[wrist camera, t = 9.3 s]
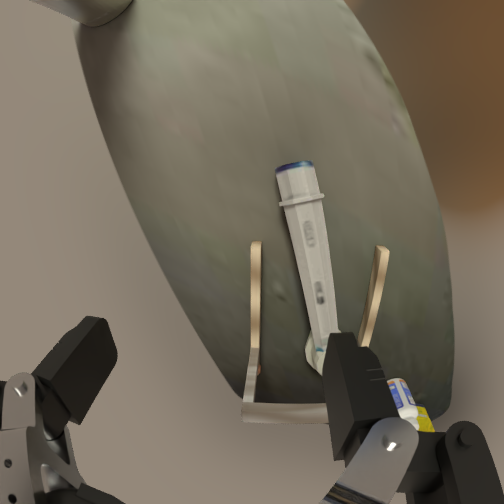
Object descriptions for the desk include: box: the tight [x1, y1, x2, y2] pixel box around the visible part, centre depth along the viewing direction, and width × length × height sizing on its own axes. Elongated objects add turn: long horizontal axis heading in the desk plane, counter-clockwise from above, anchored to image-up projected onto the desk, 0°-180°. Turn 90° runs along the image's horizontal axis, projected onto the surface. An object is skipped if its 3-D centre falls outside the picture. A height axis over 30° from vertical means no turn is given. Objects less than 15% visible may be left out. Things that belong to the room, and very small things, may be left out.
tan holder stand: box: [241, 241, 390, 424], centre depth 27 cm, size 18×16×12 cm
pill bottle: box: [387, 378, 419, 430], centre depth 32 cm, size 5×5×10 cm
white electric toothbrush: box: [275, 160, 341, 375], centre depth 29 cm, size 5×7×25 cm
